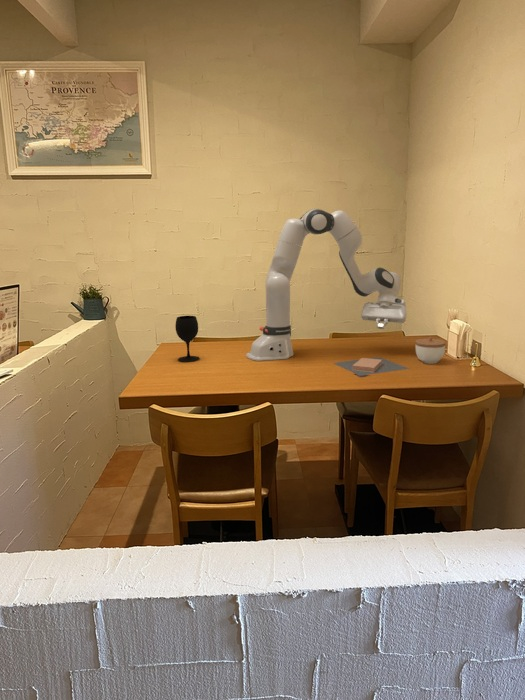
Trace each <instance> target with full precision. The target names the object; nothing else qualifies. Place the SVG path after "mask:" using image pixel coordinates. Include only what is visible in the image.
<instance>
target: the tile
mask: <svg viewBox="0 0 525 700" xmlns="http://www.w3.org/2000/svg"><path fill="white" fill-rule="evenodd" d="M358 360H359V361H357V362H356V363H355V364H354V365H352V370H355V371H364V372H375V371H376V370H377V369H378V368H379V367H380V366H381V365H382V360H380V359H369V357H362V358H361V357H360V359H358Z"/></svg>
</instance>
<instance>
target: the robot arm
mask: <svg viewBox="0 0 525 700" xmlns="http://www.w3.org/2000/svg"><path fill="white" fill-rule="evenodd" d="M327 232H328V233H329V234H331V235H332V237H333V238H334V241H336V243H337V244H338V248H339V251H338V255H339V258H340V260H341V261H340V262H341V263H342V265H343V267H344V269H345V271H346V273H347V275H348V277H349V279H350V281H351V283H352V287H353V289H354V292H355V293H356V294H357V295H359V296H360V297H362V298H363V297H368V296H369V295H372V294H373V293H375V292H378V296H377V297H378V298H377V301H376V302H371V301H370V302H369V301H368V302H366V303H364V304H363V307H362V310H361V312H360V313H361V314H360V318H361V319H362V320H363V321H369V322H371V321H372V322H376V324H377V327H376V328H377V329H379V330H384V329H385V327H386V326H387V325H388V324H389V323H396V324H397V323H398V324H405V322H406V321H407V309H406V308H407V305H406V302H405V300H404V299H403V298H398V295H399V294H400V291H401V282H402V281H401V277H400V274H398V273H396V272H394V271H388V270H387V269H386V268H384V267H377V268H374V269H373V270H370V271H369V272H366V273H362V272H361V270H360V269H359V266H358V265H357V263H356V260H355V255H356V252H357V251H358V250H359V249H360V247H361V245H362V242H363V235H362V232H361V231H360V229H359V227H358V226H357V225H356V224H355V222H354V221H353V219H351V217H350V216H349V215H348V214H347V213H346V212H345V211H344V210H341V209H339V210H336V211H333V212H332V213H329V212H327V211H325V210H323V209H319V208H312V209H310V210H308V211H306V212H305V213H304V214H303V215H302V216H301V217H300V218H295V217H294V218H288V219H287V220H286V221H285V222H284V225H283V227H282V229H281V231H280V234H279V236H278V241H277V243H276V247H275V250H274V254H273V256H272V259H271V261H270V262H271V264H270V265H269V269H268V272H267V275H266V279H265V315H266V316H265V318H266V321H265V323H266V325H265V326H259V330H260V331H261V332H262V334H261V335H260V336H259V337H257V338H256V339H255V340H254V341H253V342H252V344H251V345H250V346H251V347H250V352H247V353H246V355H245V356H246V357H247V358H248V359H249V360H251V361H255V362H256V361H257V362H258V361H259V362H260V361H261V362H262V361H275V360H276V361H277V360H287V359H289V358H290V357H293V356H294V354H295V353H294V350H293V346H292V339H291V337H292V325H291V309H290V308H291V279H292V277H293V273H294V271H295V268H296V266H297V263H298V259H299V256H300V254H301V250H302V247H303V244H304V240H305V238H306V237H307V236H308V235H310V234H311V235H322V234H323V235H324V234H325V233H327ZM380 322H383V323H380Z"/></svg>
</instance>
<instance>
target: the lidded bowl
mask: <svg viewBox="0 0 525 700" xmlns="http://www.w3.org/2000/svg"><path fill="white" fill-rule="evenodd" d="M414 344H415V354H416V357H417V358H418V359H419V360H420V361H421V362H422V363H423V364H428V365H429V364H431V365H432V364H434V365H435V364H437V363H438V362H439V361H441V359H443V358H444V355H445V351H446V344H447V343H446V341H444V340H443V339H437V338H433V336H429V337H428V338H420V339H416V340H415V343H414Z"/></svg>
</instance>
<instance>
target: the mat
mask: <svg viewBox="0 0 525 700" xmlns="http://www.w3.org/2000/svg"><path fill="white" fill-rule="evenodd" d="M368 358H369V357H368ZM369 359H380V360H382V365H381V366H380V367H379V368H378V369H377V370H376V371H375V372H364V371H355V370H352V365H354V364H355V363H356V362H357V361H359V360H360V359H354V360H347V361H337V362H332V363H333V364H334V365H336V366H338V367H340V368H343V369H344V370H347V371H349V372H351V373H352V374H354V375H355V376H357V377H359V378H363V377H365V378H366V377H370V376H371V375H375V374H382V373H389V372H395V371H403V370H407V369H408V370H410V367H407V366H404V365H401V364H398V363H396V362H393V361H391V360H388V359H385V358H382V357H380V356H376V357H370V358H369Z"/></svg>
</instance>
